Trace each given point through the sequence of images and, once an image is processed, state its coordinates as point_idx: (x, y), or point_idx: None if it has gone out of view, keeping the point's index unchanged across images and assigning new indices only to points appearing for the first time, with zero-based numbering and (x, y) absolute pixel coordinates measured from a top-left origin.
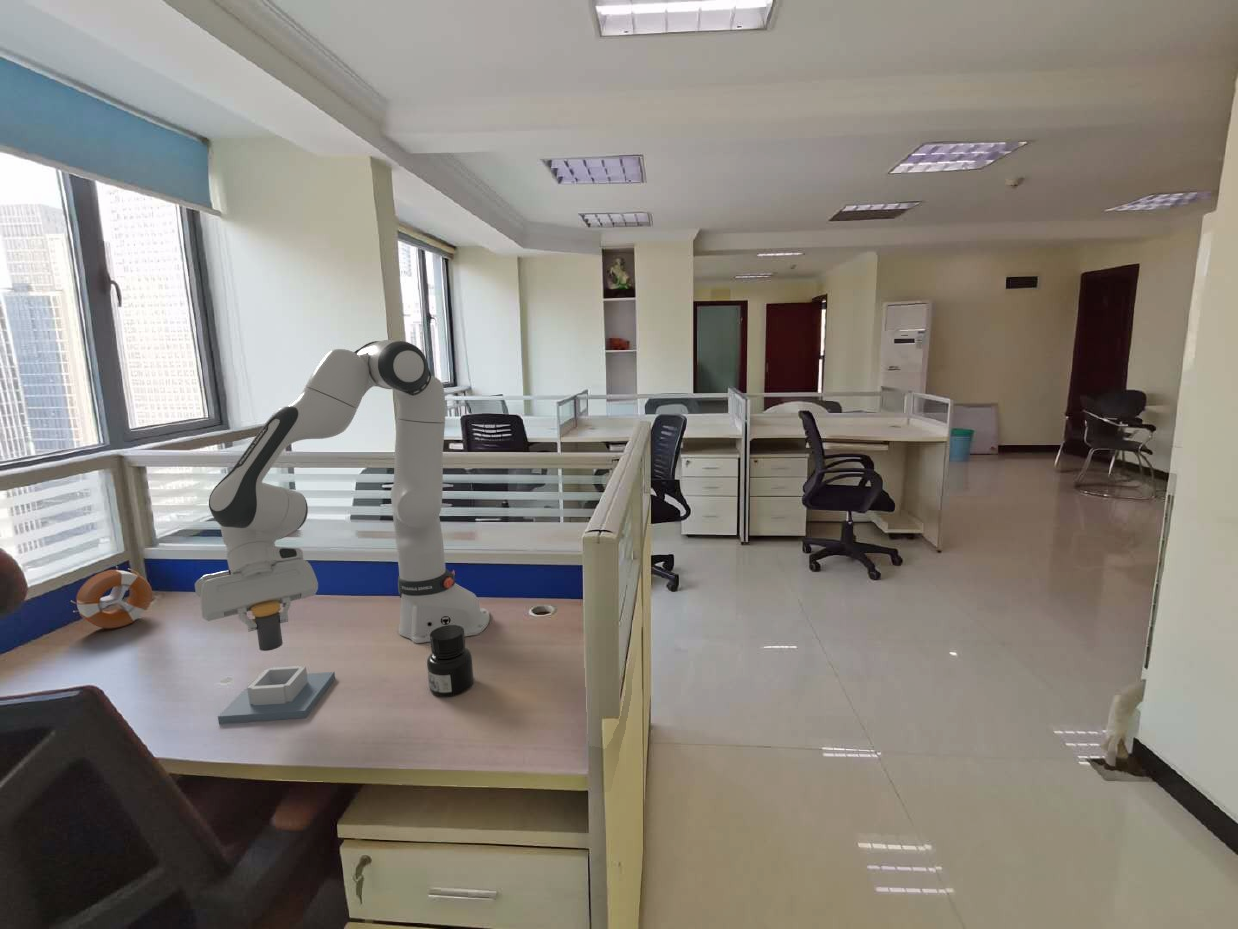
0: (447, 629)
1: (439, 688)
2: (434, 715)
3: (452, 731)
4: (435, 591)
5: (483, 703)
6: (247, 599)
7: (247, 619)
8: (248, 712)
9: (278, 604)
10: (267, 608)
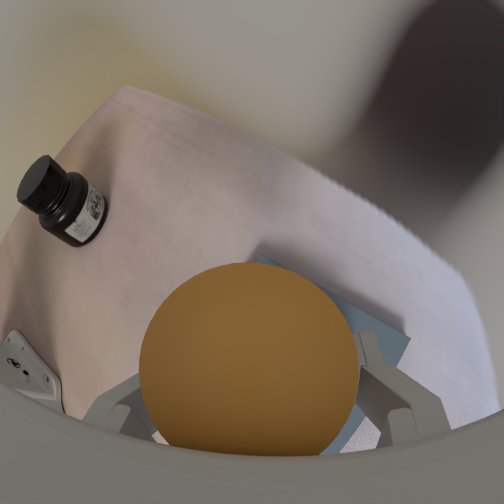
0: (26, 185)
1: (99, 193)
2: (131, 169)
3: (138, 138)
4: None
5: (94, 169)
6: (384, 488)
7: (380, 367)
8: (358, 317)
9: (152, 328)
10: (235, 294)
